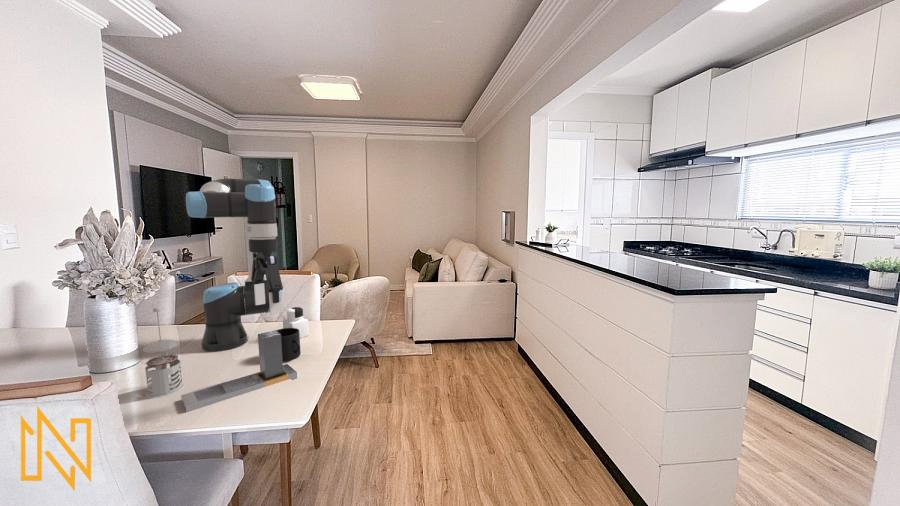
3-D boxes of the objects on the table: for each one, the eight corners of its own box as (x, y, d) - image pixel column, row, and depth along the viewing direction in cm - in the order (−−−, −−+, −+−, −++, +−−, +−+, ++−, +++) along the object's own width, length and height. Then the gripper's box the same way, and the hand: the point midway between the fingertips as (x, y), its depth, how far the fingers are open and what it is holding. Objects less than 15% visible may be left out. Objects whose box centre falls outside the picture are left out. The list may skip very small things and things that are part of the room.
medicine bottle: (299, 332, 151) (298, 305, 150) (309, 335, 147) (307, 307, 146) (283, 337, 145) (281, 308, 144) (293, 341, 141) (291, 311, 140)
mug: (288, 365, 119) (287, 339, 118) (265, 358, 124) (263, 334, 123) (311, 355, 127) (310, 331, 126) (288, 349, 133) (287, 326, 132)
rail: (181, 402, 96) (180, 395, 96) (287, 369, 116) (287, 363, 116) (186, 414, 91) (185, 406, 91) (297, 377, 110) (296, 371, 110)
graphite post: (260, 378, 109) (257, 334, 107) (277, 372, 112) (275, 330, 111) (266, 383, 105) (263, 338, 104) (283, 378, 109) (280, 334, 107)
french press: (137, 403, 96) (127, 314, 93) (153, 384, 106) (144, 303, 103) (181, 396, 100) (173, 309, 96) (192, 378, 110) (185, 299, 107)
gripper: (236, 236, 110) (241, 303, 112) (263, 241, 92) (268, 320, 95) (263, 235, 115) (267, 298, 118) (292, 240, 97) (296, 315, 100)
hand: (267, 308), depth 106 cm, fingers open, 13 cm apart
